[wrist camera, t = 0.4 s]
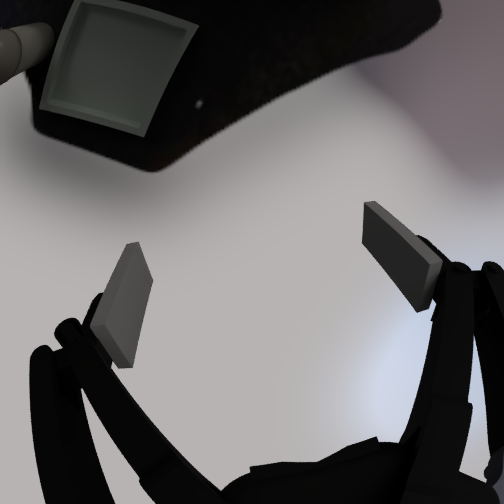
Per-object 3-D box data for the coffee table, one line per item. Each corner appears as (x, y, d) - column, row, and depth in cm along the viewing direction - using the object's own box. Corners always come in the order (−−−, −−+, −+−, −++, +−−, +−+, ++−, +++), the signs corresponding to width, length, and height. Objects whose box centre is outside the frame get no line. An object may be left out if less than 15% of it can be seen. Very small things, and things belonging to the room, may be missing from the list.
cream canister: (24, 19, 17) (-17, 29, 11) (62, 23, 20) (25, 31, 14) (11, 64, 21) (-29, 84, 14) (46, 69, 24) (10, 90, 18)
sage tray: (86, -6, 18) (77, -7, 16) (198, 25, 26) (199, 25, 24) (47, 101, 28) (39, 108, 26) (146, 128, 35) (143, 137, 33)
